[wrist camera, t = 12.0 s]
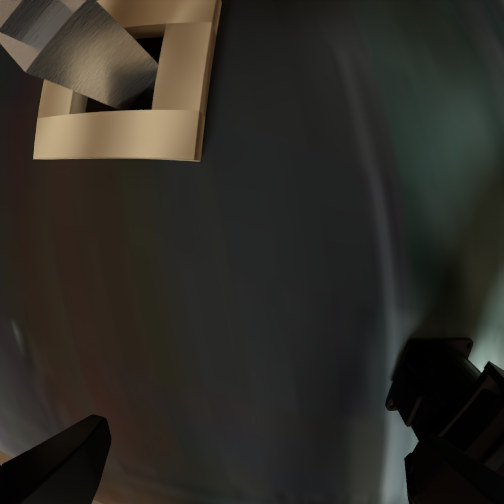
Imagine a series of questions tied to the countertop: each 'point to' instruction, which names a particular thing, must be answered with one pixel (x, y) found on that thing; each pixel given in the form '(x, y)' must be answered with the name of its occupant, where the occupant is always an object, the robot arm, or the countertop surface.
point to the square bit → (77, 48)
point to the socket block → (165, 94)
